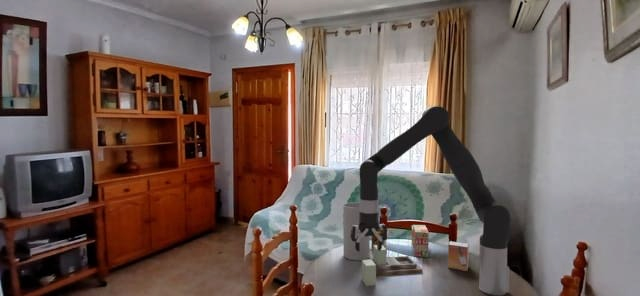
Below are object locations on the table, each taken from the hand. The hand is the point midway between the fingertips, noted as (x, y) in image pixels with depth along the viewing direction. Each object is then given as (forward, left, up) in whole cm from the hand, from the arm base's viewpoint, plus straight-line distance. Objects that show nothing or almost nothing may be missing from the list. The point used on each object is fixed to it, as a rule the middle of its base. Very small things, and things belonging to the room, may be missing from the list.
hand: (368, 250), depth 133 cm
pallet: (-14, -12, -13) cm, 23 cm away
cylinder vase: (-2, -28, -13) cm, 31 cm away
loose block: (0, 0, -13) cm, 13 cm away
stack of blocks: (-36, -32, -13) cm, 50 cm away
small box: (-43, -8, -13) cm, 46 cm away
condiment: (-16, -38, -13) cm, 43 cm away
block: (-9, -12, -11) cm, 19 cm away
